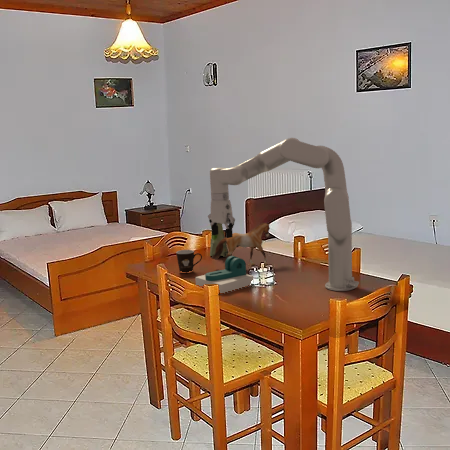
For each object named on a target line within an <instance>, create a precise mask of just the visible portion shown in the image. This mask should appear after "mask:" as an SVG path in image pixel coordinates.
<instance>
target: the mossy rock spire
mask: <svg viewBox="0 0 450 450" xmlns="http://www.w3.org/2000/svg"><path fill="white" fill-rule="evenodd" d="M217 225H218V235H212V231H211V234H210V235H211V236H210V237H211V238H210V251H209V257H210V256H214V254H215V251H216V247H217V245H218V243H219V242H220V241H221V240H222V239H224V238H226V236H225V232H224V229H223V228H224V227H223V224H220V223H218V224H217ZM210 229H211V230H212V227H211V226H210ZM223 247H224V248H223V251H222V254H221V255H220V256H223V257H224V258H226V256H227V254H228V252H229V249H228V246H227V244H226V242H225V243H224V244H223ZM220 256H219V257H220Z"/></svg>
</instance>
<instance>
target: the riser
mask: <svg viewBox="0 0 450 450" xmlns="http://www.w3.org/2000/svg"><path fill="white" fill-rule="evenodd" d="M194 279H195V286H196V285H199V286H203V285H204V284H218V285H219V290H220V293H224V294H226V293H225V292H227V293H229V292H228V291H231V292H233V291H232V290H234V291H236V290H235V289H238V290H240V289H239V288H241V289H243V288H242V287H245V286H248V285H250V283H251V281H252V280H253V281H254V275H251V274H248V273H246V275H243V276H238V277H233V278H228V279H223V280H218V281H207V280H206V278H205V274H204V275H203V274H202V275H199V276H195V278H194ZM248 287H249V286H248ZM245 288H246V287H245Z"/></svg>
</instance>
